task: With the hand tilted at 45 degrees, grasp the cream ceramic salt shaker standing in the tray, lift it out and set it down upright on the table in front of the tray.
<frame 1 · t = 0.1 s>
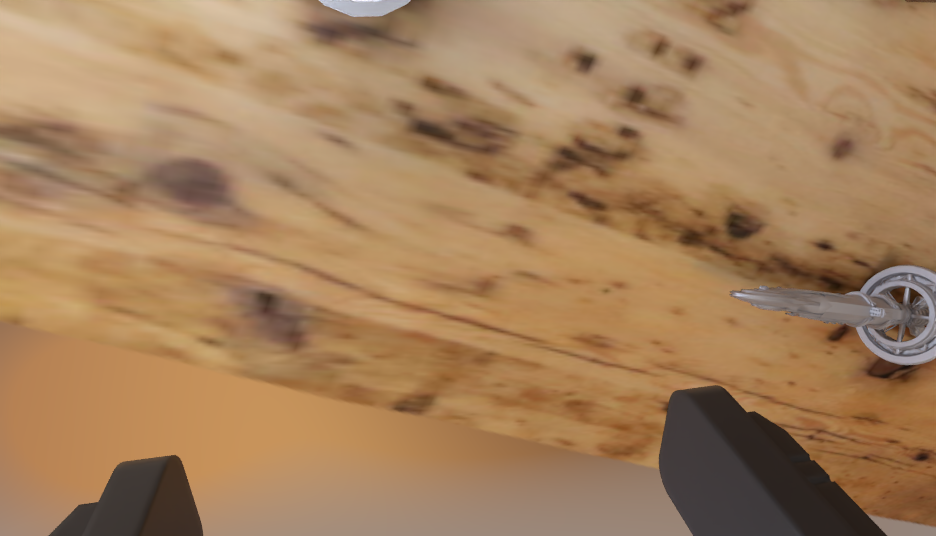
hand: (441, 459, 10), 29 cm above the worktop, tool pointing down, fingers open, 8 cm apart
spaceship: (861, 289, 49), on the worktop
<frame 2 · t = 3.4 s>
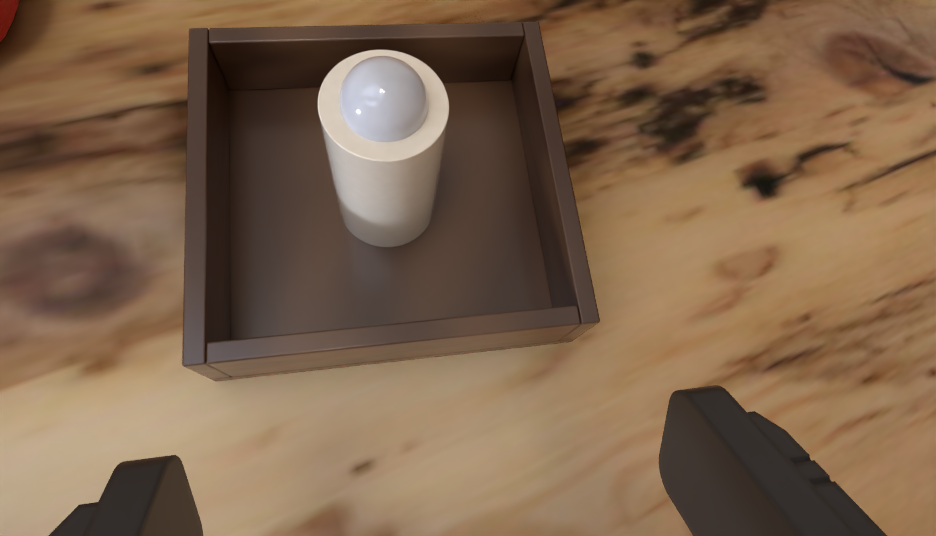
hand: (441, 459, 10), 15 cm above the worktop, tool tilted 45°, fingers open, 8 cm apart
shaker: (387, 203, 27), point 1 cm above the worktop, touching tray
tray: (387, 208, 27), on the worktop
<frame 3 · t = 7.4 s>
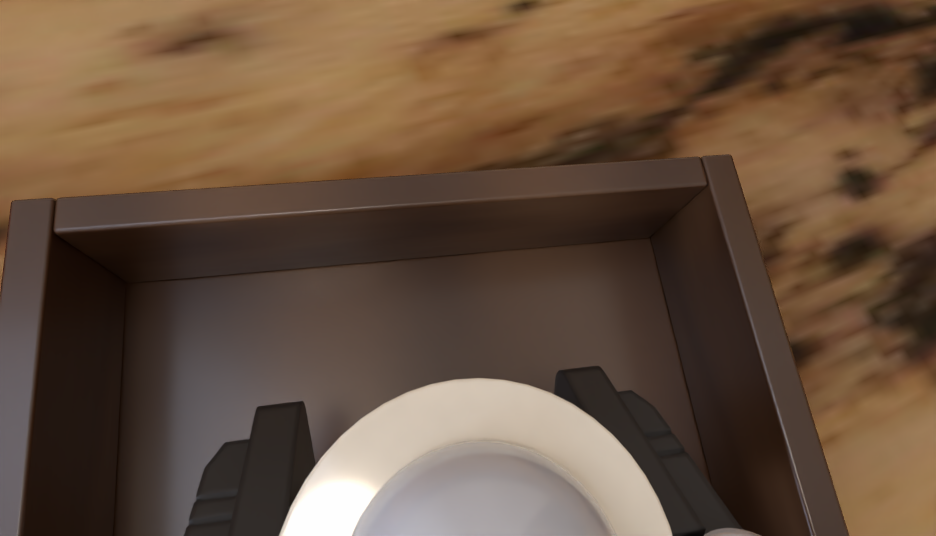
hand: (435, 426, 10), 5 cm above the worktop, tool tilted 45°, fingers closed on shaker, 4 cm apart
shaker: (434, 520, 13), point 1 cm above the worktop, touching tray, gripper
tray: (432, 517, 14), on the worktop
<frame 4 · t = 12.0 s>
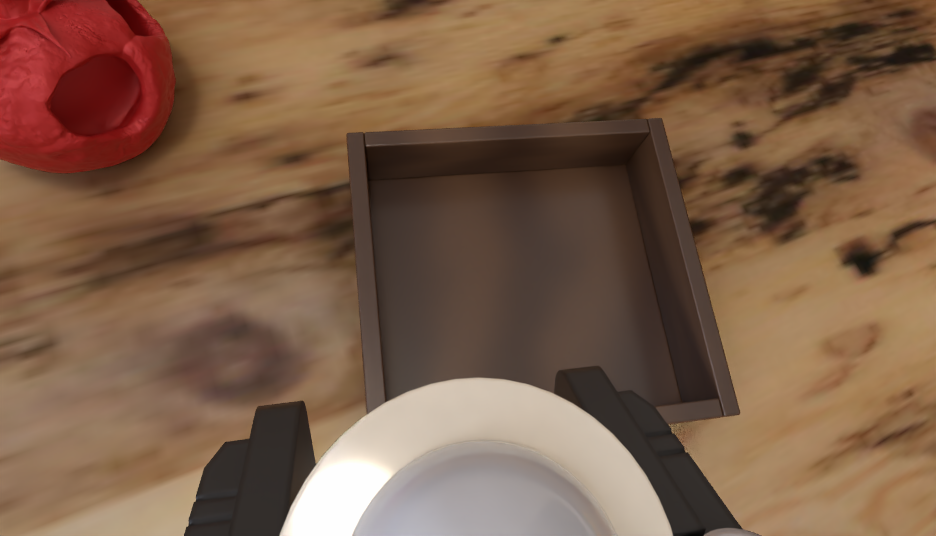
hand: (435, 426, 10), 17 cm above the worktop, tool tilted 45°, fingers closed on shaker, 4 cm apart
shaker: (434, 520, 13), point 13 cm above the worktop, touching gripper
pomegranate: (95, 112, 30), on the worktop
tray: (517, 292, 29), on the worktop
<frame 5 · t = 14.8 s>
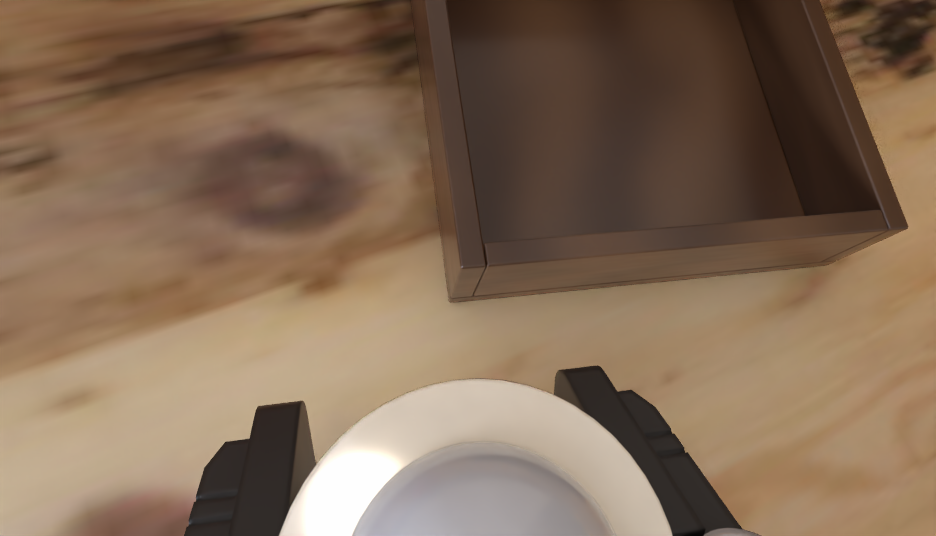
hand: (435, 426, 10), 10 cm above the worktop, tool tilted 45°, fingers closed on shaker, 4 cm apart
shaker: (434, 520, 13), point 6 cm above the worktop, touching gripper
tray: (609, 119, 24), on the worktop
when the fingers open (4 cm above the worktop, at t = 16.7 s): shaker stays where it is, on the worktop.
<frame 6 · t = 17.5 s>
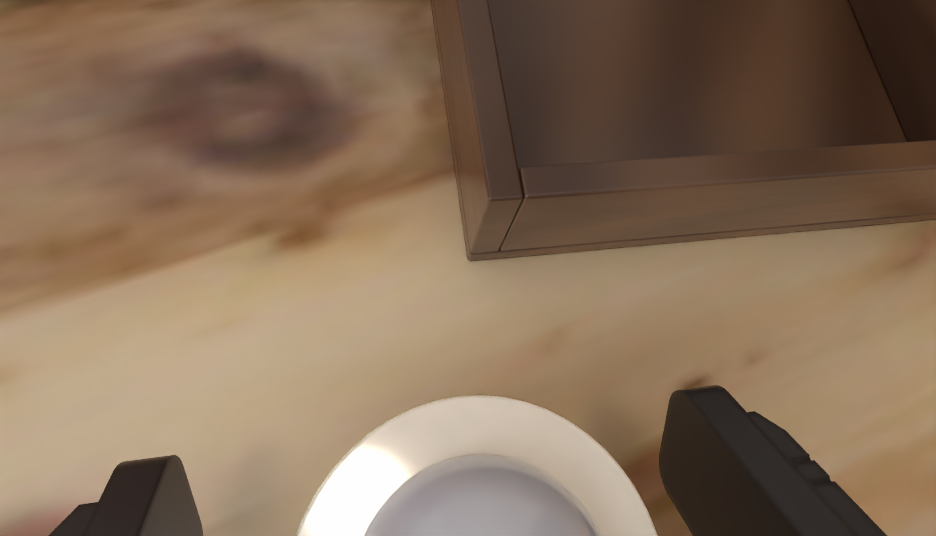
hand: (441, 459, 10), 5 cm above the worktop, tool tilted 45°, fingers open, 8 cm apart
shaker: (436, 524, 14), on the worktop
tray: (663, 41, 20), on the worktop
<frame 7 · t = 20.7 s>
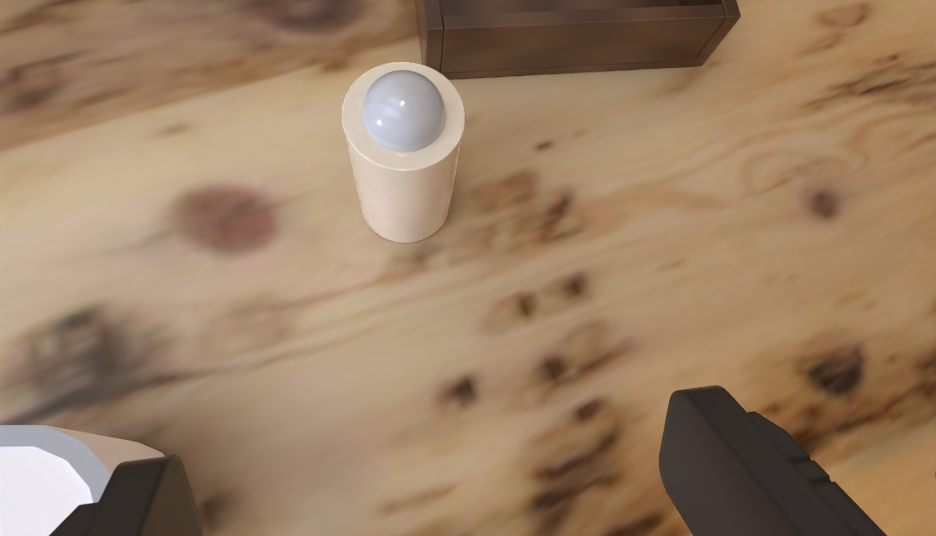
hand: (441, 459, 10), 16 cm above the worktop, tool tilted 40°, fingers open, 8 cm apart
shaker: (405, 200, 28), on the worktop
shot glass: (115, 513, 23), on the worktop
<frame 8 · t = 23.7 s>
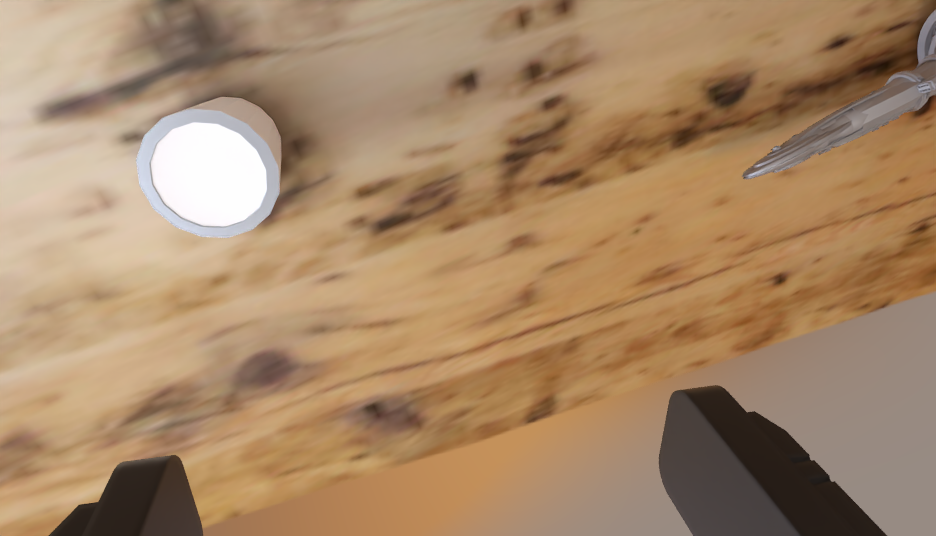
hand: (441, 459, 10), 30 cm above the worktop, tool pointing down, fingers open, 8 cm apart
spaceship: (919, 48, 41), on the worktop
shot glass: (235, 142, 36), on the worktop
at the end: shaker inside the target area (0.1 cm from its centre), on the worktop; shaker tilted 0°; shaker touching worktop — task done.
